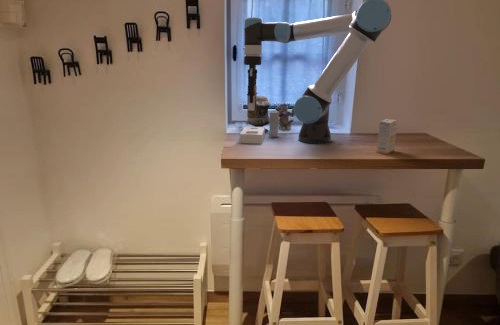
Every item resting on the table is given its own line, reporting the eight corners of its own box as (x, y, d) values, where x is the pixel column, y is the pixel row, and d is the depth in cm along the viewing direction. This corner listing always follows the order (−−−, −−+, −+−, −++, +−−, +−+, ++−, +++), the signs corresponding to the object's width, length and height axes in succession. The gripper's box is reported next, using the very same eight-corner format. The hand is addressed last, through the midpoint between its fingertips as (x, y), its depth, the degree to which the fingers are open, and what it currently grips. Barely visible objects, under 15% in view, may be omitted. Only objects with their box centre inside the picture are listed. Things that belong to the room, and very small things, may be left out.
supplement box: (383, 149, 157) (386, 118, 154) (394, 150, 154) (398, 119, 151) (375, 152, 151) (379, 120, 148) (387, 154, 148) (391, 122, 145)
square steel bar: (277, 135, 182) (278, 111, 179) (277, 137, 178) (278, 112, 175) (269, 135, 183) (270, 111, 179) (269, 137, 179) (269, 112, 176)
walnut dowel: (256, 116, 169) (257, 85, 165) (255, 118, 165) (256, 86, 161) (247, 116, 169) (248, 85, 165) (246, 117, 165) (247, 86, 162)
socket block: (264, 134, 184) (265, 126, 183) (261, 143, 165) (261, 134, 164) (245, 134, 185) (245, 126, 184) (239, 142, 166) (239, 134, 165)
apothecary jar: (259, 128, 202) (260, 94, 197) (274, 131, 193) (275, 96, 188) (242, 130, 195) (242, 96, 190) (257, 134, 186) (258, 98, 181)
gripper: (246, 55, 168) (245, 107, 175) (241, 55, 152) (241, 111, 158) (262, 55, 168) (261, 107, 174) (259, 55, 151) (258, 112, 158)
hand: (251, 109), depth 166 cm, fingers closed on walnut dowel, 4 cm apart
